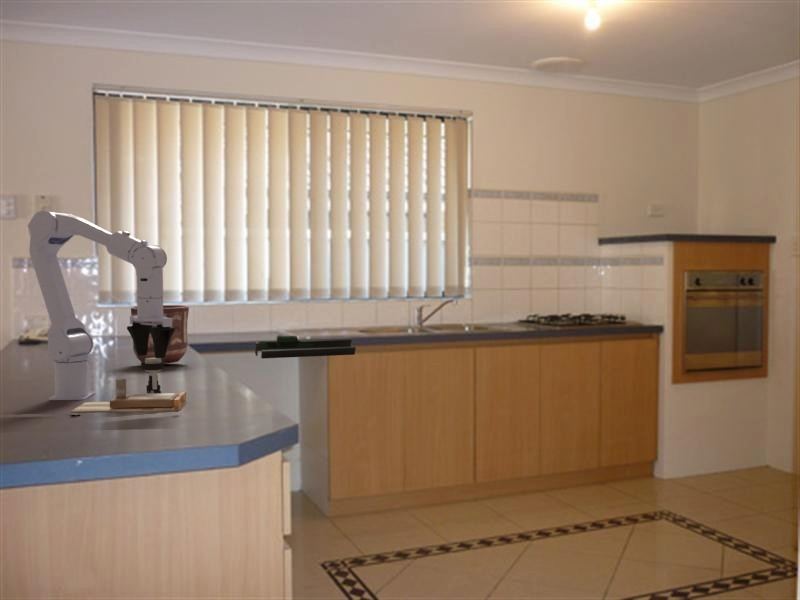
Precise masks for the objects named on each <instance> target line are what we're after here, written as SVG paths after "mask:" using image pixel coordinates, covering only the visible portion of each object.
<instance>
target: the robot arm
mask: <svg viewBox="0 0 800 600" xmlns="http://www.w3.org/2000/svg"><path fill="white" fill-rule="evenodd" d="M27 228H28V232H29V234H30V238H29V248H28V249H29V250H28V251H29V256H30V259H31V262H32V265H33V269H34V272H35V275H36V278H37V281H38V285H39V289H40V291H41V294H42V297H43V300H44V303H45V307H46V310H47V314H48V317H49V319H50V323H51V324H50V326H49V327H48V329H47V331H46V336H47V339H48V340H47V351H48V354H49V356H51V358H52V359H53V363H54V392H55V393H54V395H53V396H51V397H50V398H49V399H48V400H49V401H79V400H80V401H81V400H83V401H84V400H87V399H88V398H90V397H92V396H93V395H94V394H96V391H92V379H91V378H92V377H91V370H92V369H91V367H90V366H91V365H90V364H89V363H88V359H89V355H90V354H91V352H92V351H93V349H94V339H93V336H92V335H91V334H90V333H89V332H88V331H87V328H86V325H85V324H84V323H83V322H82V321H81V320H80V319H78V317H77V316H76V313H75V310H74V307H73V304H72V301H71V298H70V294H69V291H68V288H67V285H66V282H65V279H64V276H63V271H62V268H61V265H60V263H59V259H58V257H57V254H58V253H59V251H60V249H61V248H62V247H63V246H65V244H66V243H68V242H69V241H70V240H71V239H72V238H73V237H74V236H80V237H83V238H85V239H86V240H90V241H92V242H95V243H98V244H100V245H101V246H102V245H103V246H104V247H105V248H106V251H107V253H108V254H109V255H111V256H114V257H116V258H118V259H120V260H123V261H125V262H127V263H129V264H131V265H132V266H133V268H135V271H136V273H135V274H136V301H137V302H136V306H137V316H131V315H129V325H128V326H126V330H127V331H128V332H129V335H130V337H131V339H132V343H133V342H134V345H135V349H136V352H137V355H138V356H143V355H147V351H148V340H149V335H150V333H151V336H152V339H153V343H154V352H155V357H156V358H165V356H166V352H167V347H168V344H169V341H170V338H171V336H172V334H173V332H174V331H175V328H174V327H172V318H168V317H163V305H164V275H163V273H164V272H163V271H164V267H165V266H166V265H167V262H168V261H167V260H168V257H167V256H168V255H167V253H166V251H165V250H164V249H163V248H162V247H160V245H149V244H148V240H144V239H141V240H140V239H137V238H135V237H134V236H132V235H131V232H129V231H126V230H122V231H116V232H113V233H112V232H109V230H106V229H104V228H102V227H100V226H98V225H96V224H94V223H92V222H91V221H88V220H87V219H84V218H82V217H81V216H78V215H73V214H71V213H69V212H54V211H48V210H39V211H37V212H35V213H34V214H33V216H32V217H31V218H30V221H29V222H28V224H27ZM146 322H152V323H146ZM132 324H133V325H132ZM152 326H157V327H152Z"/></svg>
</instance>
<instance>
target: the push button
mask: <svg viewBox="0 0 800 600" xmlns="http://www.w3.org/2000/svg"><path fill="white" fill-rule="evenodd" d="M140 365H141V369H142V370H143V371H144V372H145V373H148V374H149V375H148V381H147V382H148V383H147V384H148V385H145V386H146V394H154V393H162V391H161V384H159V380H158V378H159V377H158V372H161V371H162V370H164V369H165V362H162V361H161V358H156V357H154V358H145V361H144V362H140Z"/></svg>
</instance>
